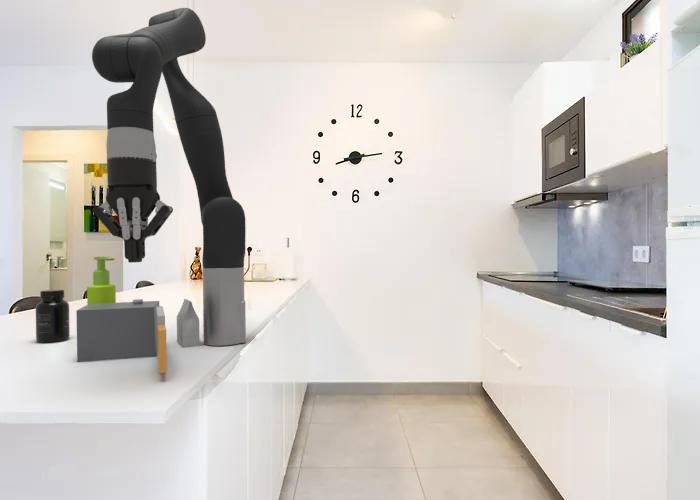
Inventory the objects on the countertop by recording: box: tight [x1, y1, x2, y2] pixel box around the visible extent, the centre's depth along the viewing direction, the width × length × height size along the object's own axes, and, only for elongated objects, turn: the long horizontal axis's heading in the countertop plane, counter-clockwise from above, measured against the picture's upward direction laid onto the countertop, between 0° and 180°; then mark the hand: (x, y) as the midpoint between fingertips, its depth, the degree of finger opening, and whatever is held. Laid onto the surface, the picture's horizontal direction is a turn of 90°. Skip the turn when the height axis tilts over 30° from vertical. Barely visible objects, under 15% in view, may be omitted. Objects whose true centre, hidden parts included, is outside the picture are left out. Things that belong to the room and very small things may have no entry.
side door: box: [156, 305, 168, 374], centre depth 87 cm, size 21×1×10 cm, turn 23°
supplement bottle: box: [35, 289, 71, 344], centre depth 113 cm, size 7×7×12 cm
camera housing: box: [75, 298, 160, 363], centre depth 100 cm, size 14×13×11 cm
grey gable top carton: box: [176, 298, 201, 348], centre depth 108 cm, size 4×7×10 cm, turn 30°
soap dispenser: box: [86, 255, 117, 305], centre depth 110 cm, size 6×7×20 cm
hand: (135, 262), depth 80 cm, fingers closed
